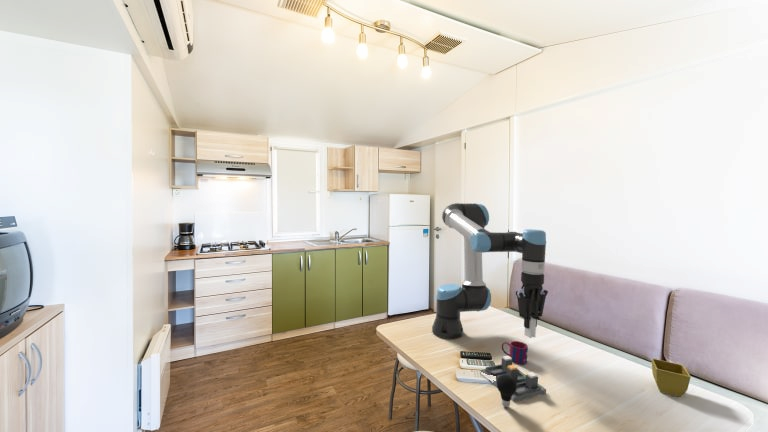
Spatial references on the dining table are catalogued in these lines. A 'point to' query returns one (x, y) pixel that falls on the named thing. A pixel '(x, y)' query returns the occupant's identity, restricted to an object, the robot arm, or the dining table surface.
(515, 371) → the block
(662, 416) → the dining table surface
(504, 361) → the breaker
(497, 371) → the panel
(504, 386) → the light bulb
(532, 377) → the breaker
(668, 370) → the flower pot
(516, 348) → the mug
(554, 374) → the dining table surface
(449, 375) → the dining table surface
